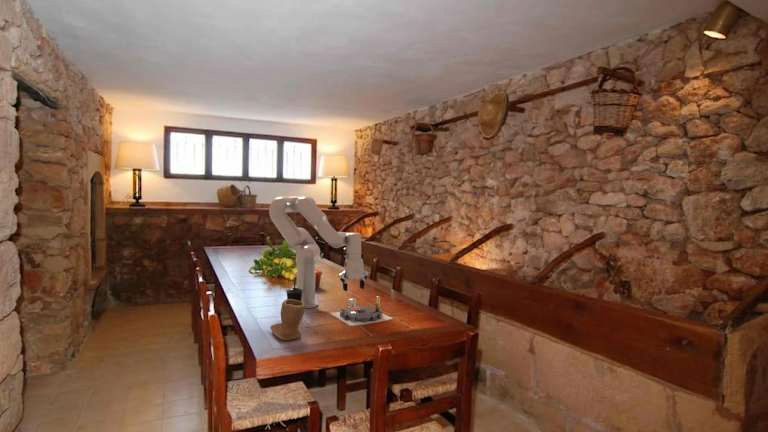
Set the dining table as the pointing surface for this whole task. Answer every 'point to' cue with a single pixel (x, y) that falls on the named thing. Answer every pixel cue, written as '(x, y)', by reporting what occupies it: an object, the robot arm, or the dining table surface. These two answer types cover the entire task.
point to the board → (356, 323)
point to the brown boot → (289, 320)
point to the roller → (352, 302)
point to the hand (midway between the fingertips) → (353, 289)
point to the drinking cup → (294, 292)
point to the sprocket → (362, 312)
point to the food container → (317, 278)
